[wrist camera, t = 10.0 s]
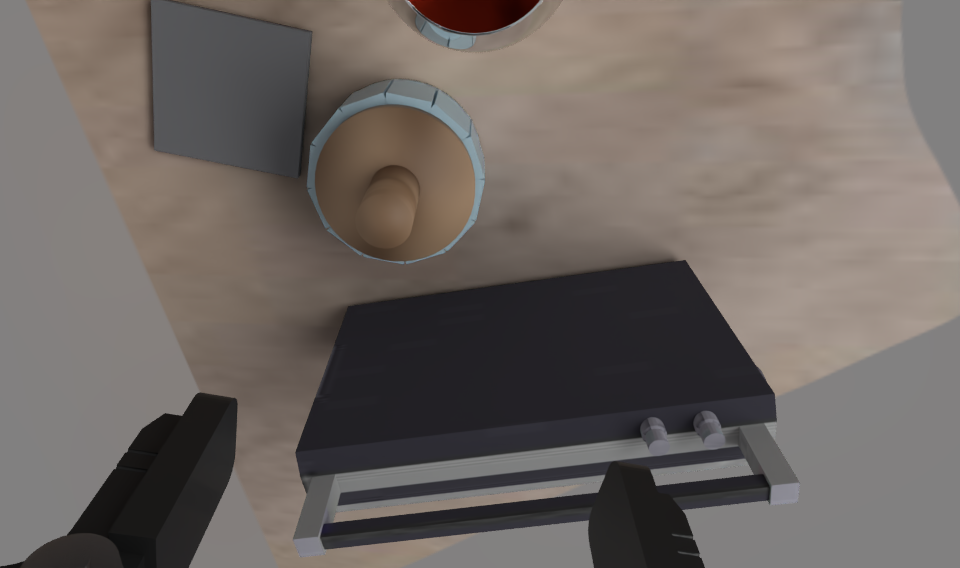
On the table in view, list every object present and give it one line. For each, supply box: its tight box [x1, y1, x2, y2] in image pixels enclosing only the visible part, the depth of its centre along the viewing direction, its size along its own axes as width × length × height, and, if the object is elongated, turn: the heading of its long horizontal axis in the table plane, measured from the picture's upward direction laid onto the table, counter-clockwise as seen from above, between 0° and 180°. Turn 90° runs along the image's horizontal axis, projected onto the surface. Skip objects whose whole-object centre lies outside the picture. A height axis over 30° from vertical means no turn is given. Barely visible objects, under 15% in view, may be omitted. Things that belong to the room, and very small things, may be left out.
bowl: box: [307, 79, 485, 264], centre depth 39 cm, size 10×10×5 cm
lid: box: [315, 104, 475, 261], centre depth 34 cm, size 9×9×6 cm
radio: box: [293, 260, 800, 557], centre depth 38 cm, size 24×5×20 cm, turn 99°
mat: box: [151, 0, 312, 178], centre depth 39 cm, size 9×9×1 cm
